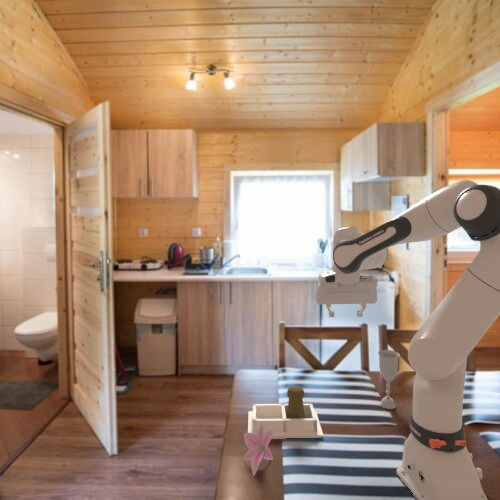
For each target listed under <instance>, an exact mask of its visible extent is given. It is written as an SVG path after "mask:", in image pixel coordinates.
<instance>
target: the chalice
mask: <svg viewBox="0 0 500 500" xmlns="http://www.w3.org/2000/svg"><path fill="white" fill-rule="evenodd" d="M377 353H378V356H379V361H378V362H379V364H378V365H379V370H380V373H381V375H382V377H383V379H384V381H386V385H385V387H386V390H385V393H386V395H385V396H383V398H382V399H381V401H380V403H379V405H381V406H382V408H383V409H387V410H393V409H395V408H396V404H395V401H394V399H393V398H392V397H391V396H390V394H391V390H390V389H391V387H392V386H391V384H390V383H391V382H393V380H394V379H395V377H396V375H397V372H398V370H399V358H400V355H401V354H400V353H399V352H397V351H394V350H391V349H381V350H378V352H377ZM381 406H380V407H381Z"/></svg>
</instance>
